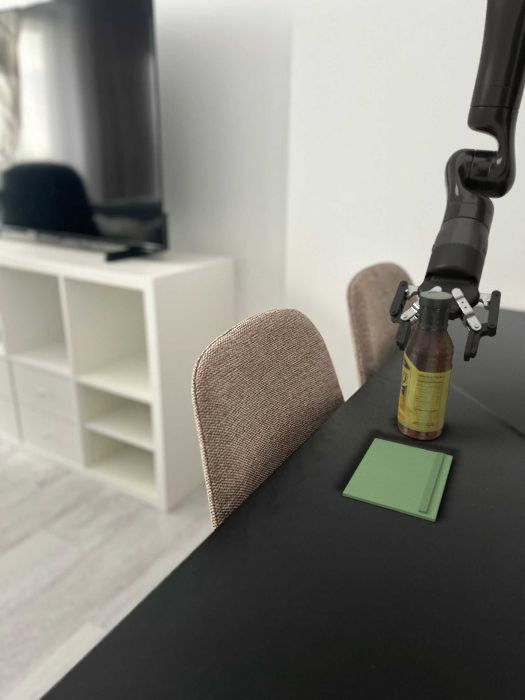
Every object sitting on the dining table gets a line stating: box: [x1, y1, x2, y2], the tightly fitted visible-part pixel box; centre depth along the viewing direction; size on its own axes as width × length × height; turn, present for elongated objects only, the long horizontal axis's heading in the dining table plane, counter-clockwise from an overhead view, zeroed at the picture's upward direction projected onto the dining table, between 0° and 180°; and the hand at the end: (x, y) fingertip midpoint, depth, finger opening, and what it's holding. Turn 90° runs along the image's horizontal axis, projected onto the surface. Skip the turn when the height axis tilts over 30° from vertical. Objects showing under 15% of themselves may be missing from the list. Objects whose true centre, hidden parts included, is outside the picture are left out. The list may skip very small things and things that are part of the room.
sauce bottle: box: [397, 291, 455, 441], centre depth 68 cm, size 6×6×20 cm
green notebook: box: [342, 437, 454, 523], centre depth 61 cm, size 14×10×1 cm
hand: (432, 353), depth 69 cm, fingers open, 8 cm apart
